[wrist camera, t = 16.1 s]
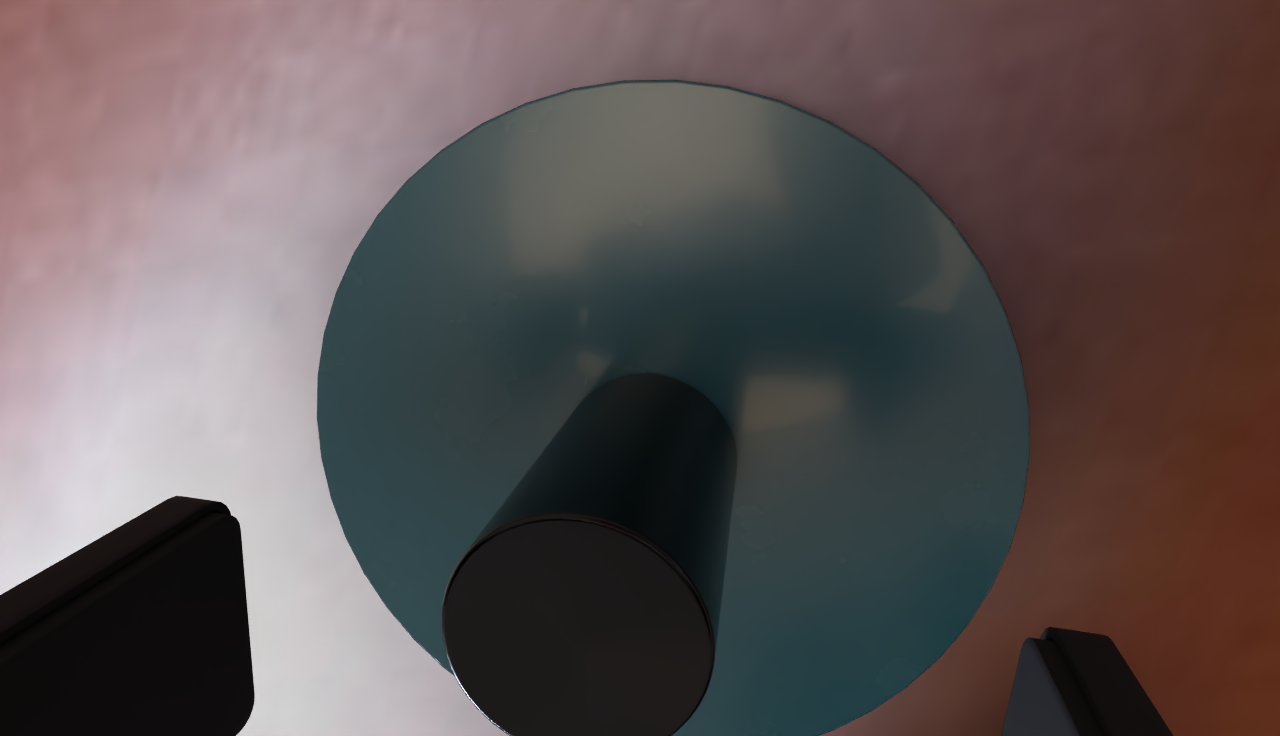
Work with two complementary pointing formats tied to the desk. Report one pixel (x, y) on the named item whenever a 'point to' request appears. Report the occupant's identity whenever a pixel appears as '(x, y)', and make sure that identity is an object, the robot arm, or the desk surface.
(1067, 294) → the desk surface
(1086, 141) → the desk surface
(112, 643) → the robot arm
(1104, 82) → the desk surface
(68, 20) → the desk surface
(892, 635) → the pot lid
